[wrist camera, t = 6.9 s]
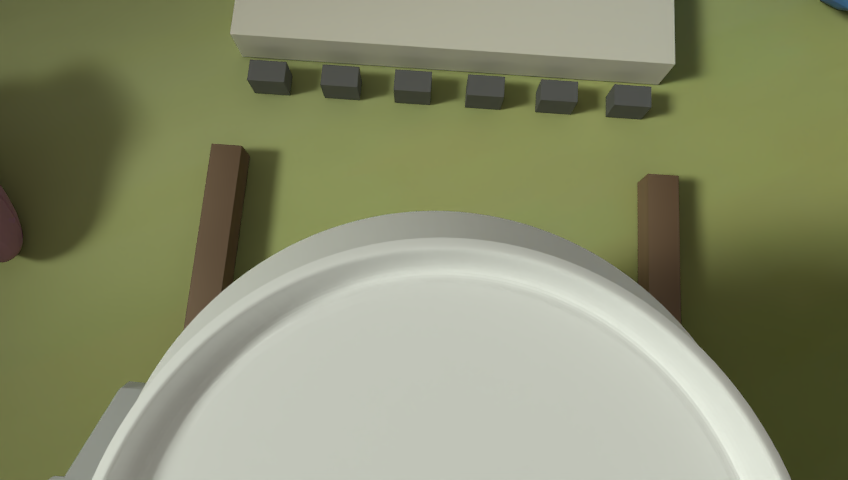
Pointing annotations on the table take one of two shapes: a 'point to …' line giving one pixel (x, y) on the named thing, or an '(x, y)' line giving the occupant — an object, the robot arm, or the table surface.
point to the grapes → (837, 4)
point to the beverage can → (438, 369)
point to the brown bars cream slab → (471, 52)
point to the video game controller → (9, 229)
